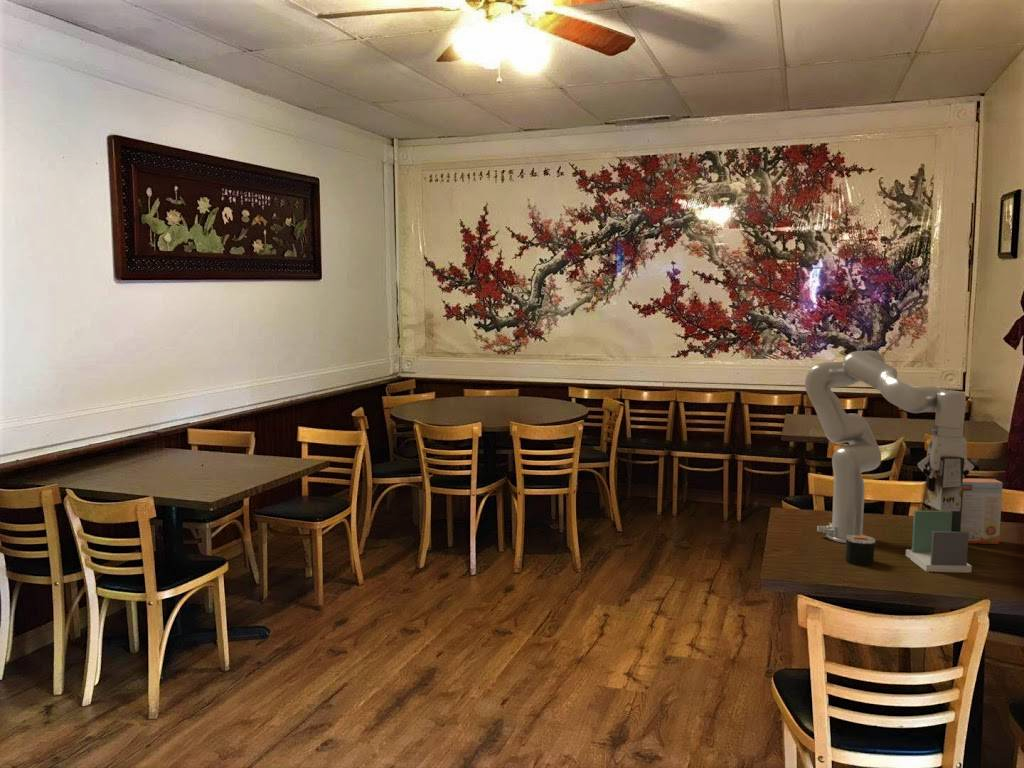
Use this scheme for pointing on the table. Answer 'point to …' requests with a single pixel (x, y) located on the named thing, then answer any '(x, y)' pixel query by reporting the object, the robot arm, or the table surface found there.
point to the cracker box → (981, 510)
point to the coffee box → (947, 485)
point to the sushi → (860, 550)
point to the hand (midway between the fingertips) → (943, 490)
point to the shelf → (938, 543)
